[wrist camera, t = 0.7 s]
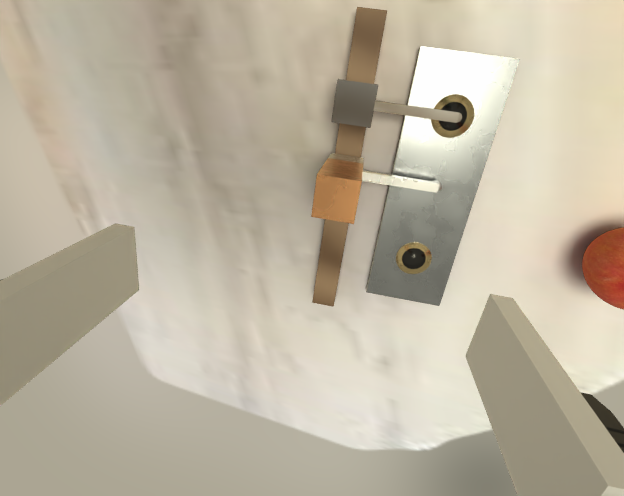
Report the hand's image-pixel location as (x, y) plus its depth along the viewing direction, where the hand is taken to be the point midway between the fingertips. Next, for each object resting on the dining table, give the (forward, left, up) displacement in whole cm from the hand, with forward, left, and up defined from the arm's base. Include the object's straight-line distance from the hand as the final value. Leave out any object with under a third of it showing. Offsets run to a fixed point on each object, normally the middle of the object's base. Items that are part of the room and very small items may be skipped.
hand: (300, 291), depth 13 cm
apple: (+4, +27, -25) cm, 37 cm away
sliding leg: (0, +4, -23) cm, 23 cm away
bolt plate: (+1, +9, -24) cm, 26 cm away
